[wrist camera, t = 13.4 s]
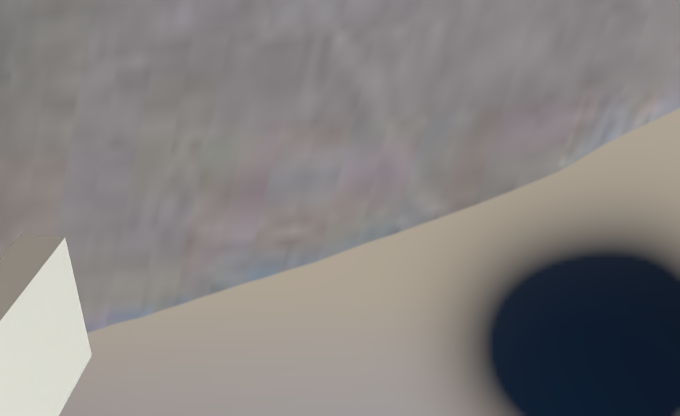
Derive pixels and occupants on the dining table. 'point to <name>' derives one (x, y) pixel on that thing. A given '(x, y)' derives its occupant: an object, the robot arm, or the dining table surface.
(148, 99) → the dining table surface
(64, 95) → the dining table surface
